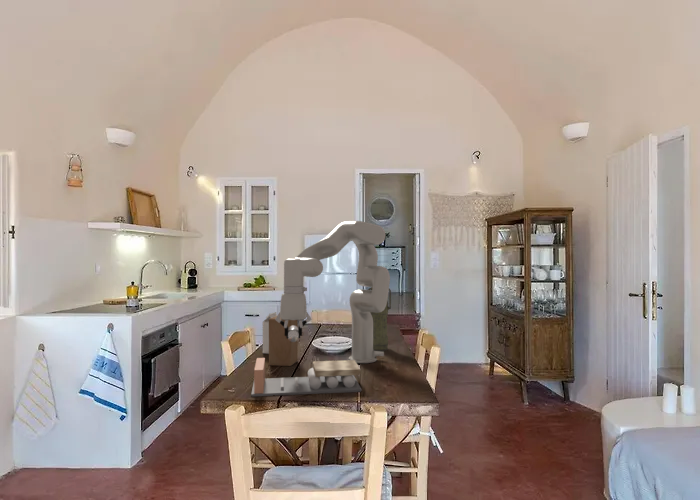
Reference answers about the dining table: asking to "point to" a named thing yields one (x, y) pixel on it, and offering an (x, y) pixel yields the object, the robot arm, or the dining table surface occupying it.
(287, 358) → the wooden block
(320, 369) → the slab
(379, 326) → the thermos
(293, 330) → the roller
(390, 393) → the dining table surface
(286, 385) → the roller bed
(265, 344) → the milk carton
